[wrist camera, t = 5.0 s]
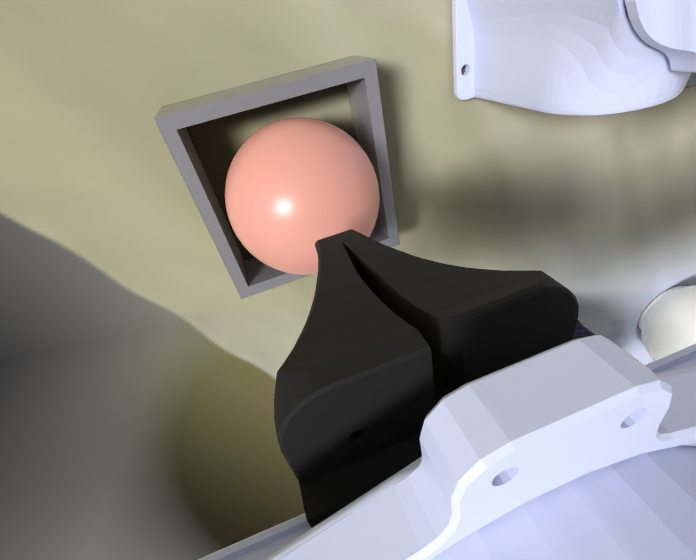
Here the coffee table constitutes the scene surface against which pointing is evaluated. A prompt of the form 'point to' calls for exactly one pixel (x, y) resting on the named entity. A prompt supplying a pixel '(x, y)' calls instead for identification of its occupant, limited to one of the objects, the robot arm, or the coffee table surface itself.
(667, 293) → the lidded jar
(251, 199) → the salmon pink ball
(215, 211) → the collar
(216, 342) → the coffee table surface
